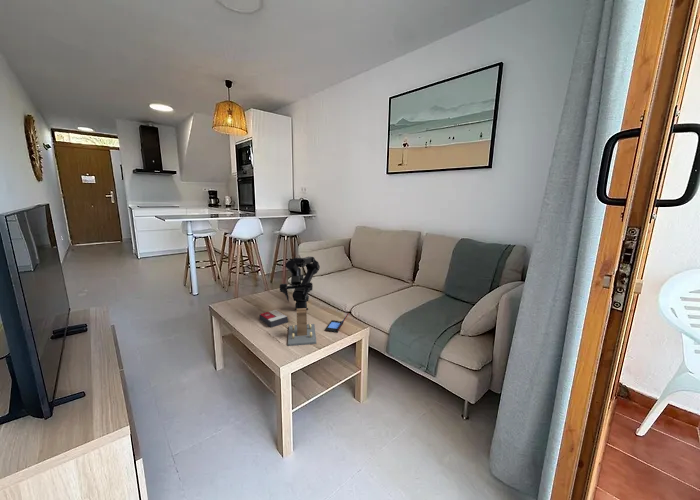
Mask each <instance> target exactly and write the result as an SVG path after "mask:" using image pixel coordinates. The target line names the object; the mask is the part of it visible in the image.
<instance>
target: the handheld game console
mask: <svg viewBox="0 0 700 500" xmlns="http://www.w3.org/2000/svg"><path fill="white" fill-rule="evenodd" d="M349 314H350V312H347V314H346V315H345V316H344V318H343V320H334V319H332V320H330V321H329V323H328V325H327V326H326V328H324V331H325V332H327V333H329V332H330V333H335V334H336V333H339V331H340V329H341V327H342V326H343V325H344V323H345V321H346V319H347V317H348V316H349Z"/></svg>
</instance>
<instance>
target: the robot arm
mask: <svg viewBox="0 0 700 500" xmlns="http://www.w3.org/2000/svg"><path fill="white" fill-rule="evenodd" d="M315 258H316V257H315V256H306V257H293V258H290V260H288V261H287V262H286V263H285V268H286V269H287V270H288V272H289V273H290V279H291V280H290V285H288V284H287V283H280V284H279V292H280V293H282V294H284V295H285V298H286V300H287V302H289V300H290V299H289V292H288V290H293V292H292V300H293V301H294V302H295V307H294V310H295V311H297V309H300V308H306V311H307V310H309V307H308V305H307V304H308V302H309V299H310V295H308V294H309V293H310V292H312V291H313V288H314V287H313V283H312V282H311V281H312V280H313V279H312V278H313V277H314V276H315V275H317V274H318V273H319V271H320V268H321V267H320V264H319V261H317V260H316V259H315ZM301 268H306V273H305V275H304V274H302V270H301Z"/></svg>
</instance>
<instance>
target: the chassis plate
mask: <svg viewBox="0 0 700 500" xmlns="http://www.w3.org/2000/svg"><path fill="white" fill-rule="evenodd" d="M315 326H316V324H315V323H309V324H307V335H303V336H297V324H293V325H289V326H288V336H287V337H288V339H287V340H288V341H287V347H291V346H292V347H293V346H294V347H295V346H305V345H306V346H307V345H316V344H317V336H316V335H317V334H316V327H315Z"/></svg>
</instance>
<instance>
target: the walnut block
mask: <svg viewBox="0 0 700 500" xmlns="http://www.w3.org/2000/svg"><path fill="white" fill-rule="evenodd" d="M307 317H308V315H307V310H306V308H300V309H297V310H296V325H297V336H303V335H307V322H308V320H307V319H308V318H307Z"/></svg>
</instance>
